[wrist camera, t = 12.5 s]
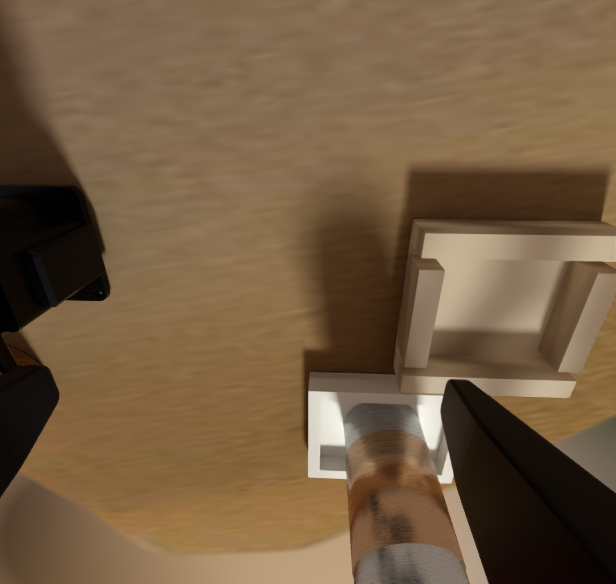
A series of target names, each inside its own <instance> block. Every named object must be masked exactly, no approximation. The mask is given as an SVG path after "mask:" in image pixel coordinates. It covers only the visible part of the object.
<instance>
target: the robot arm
mask: <svg viewBox="0 0 616 584" xmlns="http://www.w3.org/2000/svg"><path fill="white" fill-rule="evenodd" d="M69 192H70V193H71V194H72V195H73V200H72V199H71V198H70V197H69V194H68V193H69ZM98 290H100V291H101V292H102V294H100V293H99V292H98ZM109 295H110V289H109V285H108V282H107V278H106V275H105V268H104V265H103V261H102V257H101V254H100V250H99V247H98V243H97V240H96V236H95V233H94V230H93V228H92V226H91V222H90V219H89V215H88V212H87V208H86V205H85V201H84V198H83V195H82V192H81V191H80V190H79V189H78V188H77V187H75V186H72V185H0V498H1V496H2V495H3V493H4V492H5V490H6V489H7V488H8V486H9V485H10V483H11V482H12V480H13V479H14V477H15V476H16V474H17V473H18V471H19V470H20V468H21V467H22V465H23V463H24V462H25V460H26V458H27V457H28V455H29V453H30V451H31V449H32V448H33V446H34V444H35V442H36V441H37V439H38V437H39V435H40V434H41V432H42V430H43V428H44V427H45V425H46V423H47V421H48V419H49V418H50V416H51V414H52V412H53V411H54V409H55V407H56V405H57V403H58V401H59V390H58V388H57V386H56V383H55V381H54V378H53V376H52V374H51V371H50V369H49V368H48V367H47V366H44V365H24V366H21V365H18V364H17V362H16V360H15V359H14V357H13V355H12V353H11V351H10V350H9V348H8V346H7V344H6V342H5V341H4V339H3V337H4V336H6V335H7V334H9V333H10V332H17V331H19V330H20V329H22V328H23V327H25V326H26V325H28V324H29V323H30V322H32V321H33V320H35V319H36V318H38V317H39V316H40V315H42V314H43V313H45V312H46V311H48V310H49V309H50V308H52V307H56V306H58V305H59V304H61V303H62V302H63V301H65V300H77V301H103V300H105V299H106V298H107V297H108V296H109ZM440 414H441V420H442V425H443V429H444V434H445V438H446V443H447V447H448V452H449V456H450V461H451V465H452V470H453V474H454V479H455V483H456V487H457V490H458V493H459V496H460V499H461V503H462V505H463V509H464V511H465V515H466V518H467V521H468V524H469V526H470V529H471V532H472V535H473V538H474V541H475V544H476V547H477V550H478V553H479V556H480V559H481V562H482V565H483V568H484V571H485V574H486V577H487V580H488V583H489V584H616V493H615V492H614V491H612V490H611V489H610V488H608V487H607V486H606V485H604V484H603V483H602V482H601V481H599V480H598V479H597V478H595V477H594V476H593V475H591V474H590V473H589V472H588V471H586V470H585V469H584V468H582V467H581V466H580V465H578V464H577V463H576V462H575V461H573V460H572V459H571V458H569V457H568V456H567V455H565V454H564V453H563V452H562V451H560V450H559V449H558V448H556V447H555V446H554V445H553V444H551V443H550V442H549V441H547V440H546V439H545V438H543V437H542V436H541V435H540V434H538V433H537V432H536V431H534V430H533V429H532V428H530V427H529V426H528V425H527V424H525V423H524V422H523V421H521V420H520V419H519V418H517V417H516V416H515V415H514V414H512V413H511V412H510V411H508V410H507V409H506V408H504V407H503V406H502V405H501V404H499V403H498V402H497V401H495V400H494V399H493V398H492V397H490V396H489V395H488V394H486V393H485V392H484V391H482V390H481V389H480V388H479V387H477V386H476V385H475V384H473V383H472V382H471V381H469V380H466V379H449V380H448V381H447V383H446V386H445V390H444V395H443V399H442V403H441V409H440Z"/></svg>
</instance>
